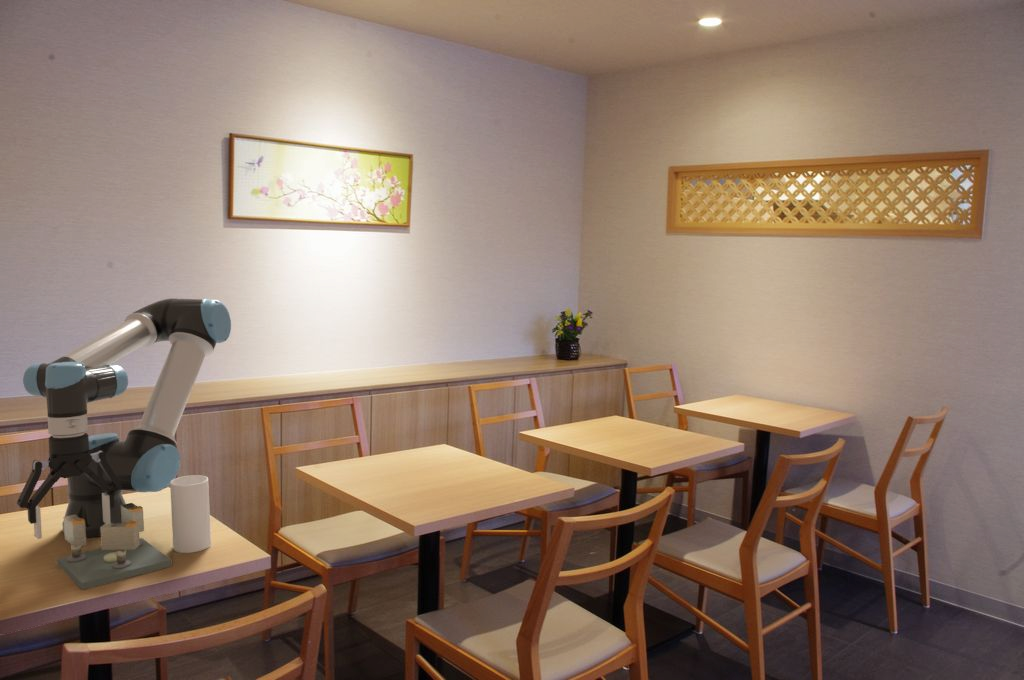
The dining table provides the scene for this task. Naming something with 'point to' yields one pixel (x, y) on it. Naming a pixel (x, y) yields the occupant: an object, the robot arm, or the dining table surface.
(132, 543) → the knob
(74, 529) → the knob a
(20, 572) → the dining table surface
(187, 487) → the cup
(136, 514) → the knob
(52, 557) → the dining table surface
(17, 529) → the dining table surface
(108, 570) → the board
